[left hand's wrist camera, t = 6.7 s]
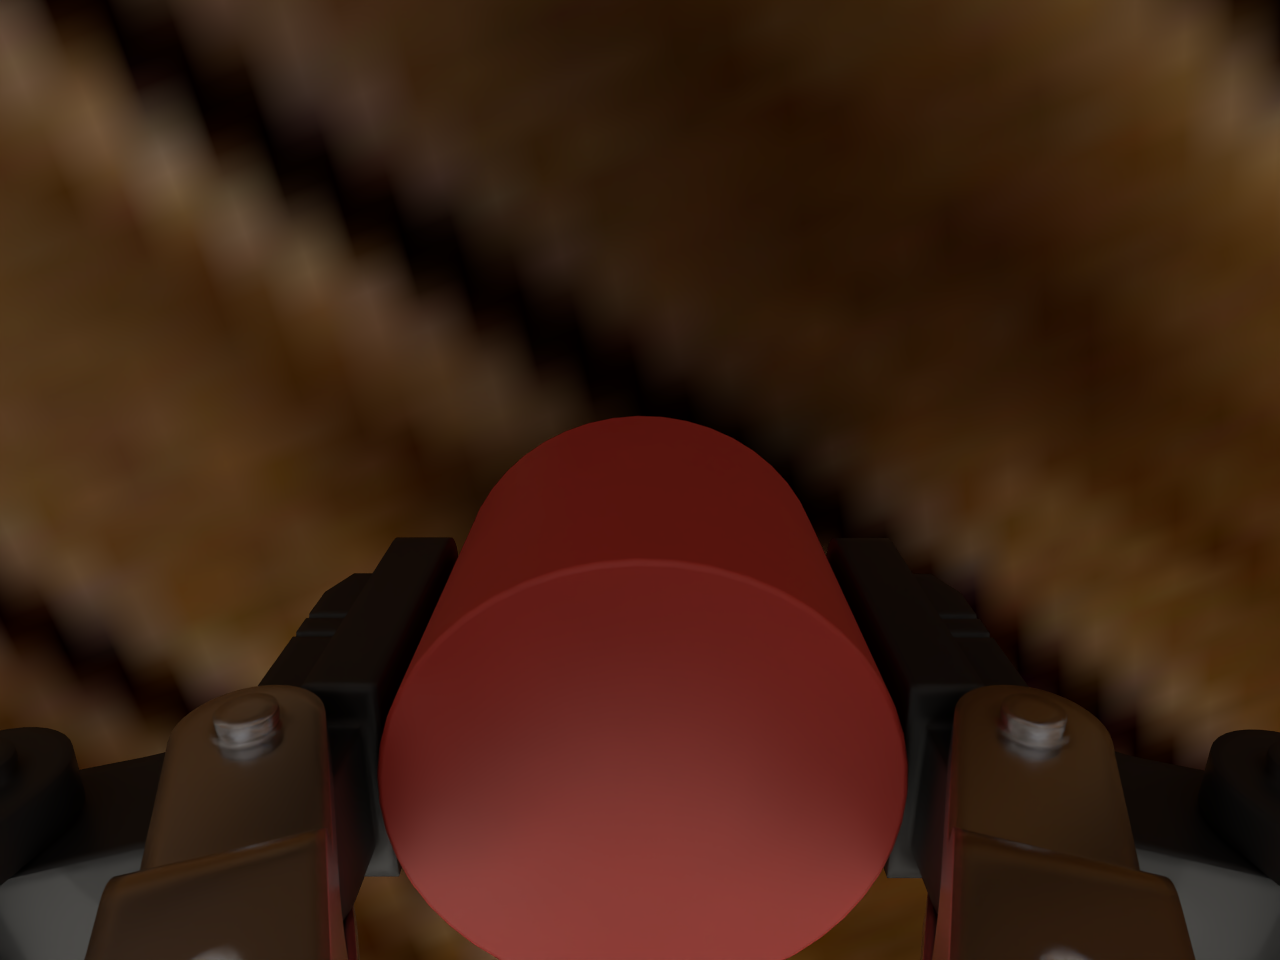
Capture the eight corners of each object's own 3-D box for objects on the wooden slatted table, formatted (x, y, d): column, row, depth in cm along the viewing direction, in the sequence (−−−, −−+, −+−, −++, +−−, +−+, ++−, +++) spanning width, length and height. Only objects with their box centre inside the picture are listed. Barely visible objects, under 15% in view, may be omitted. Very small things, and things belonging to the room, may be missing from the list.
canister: (735, 774, 13) (776, 1046, 9) (421, 672, 13) (317, 918, 9) (881, 490, 12) (1009, 669, 8) (530, 359, 11) (467, 478, 7)
